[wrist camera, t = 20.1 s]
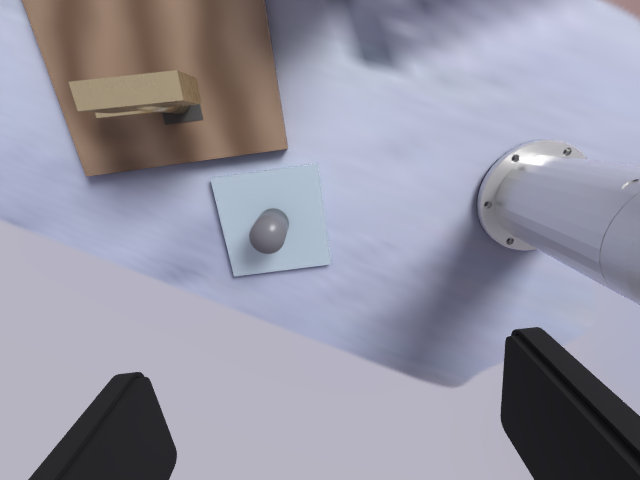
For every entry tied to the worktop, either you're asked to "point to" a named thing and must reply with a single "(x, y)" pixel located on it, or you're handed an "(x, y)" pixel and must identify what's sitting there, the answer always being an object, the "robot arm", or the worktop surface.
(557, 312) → the worktop surface
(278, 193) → the lid
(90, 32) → the board
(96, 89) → the key
